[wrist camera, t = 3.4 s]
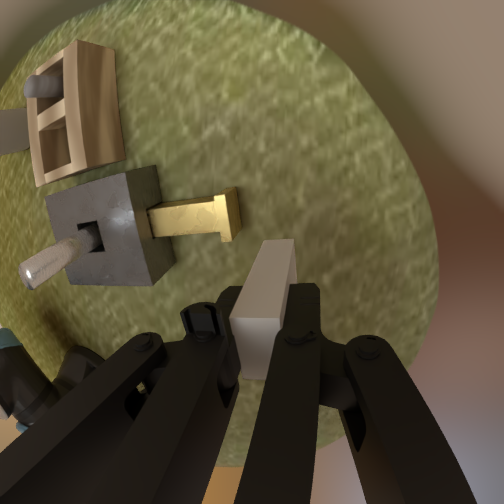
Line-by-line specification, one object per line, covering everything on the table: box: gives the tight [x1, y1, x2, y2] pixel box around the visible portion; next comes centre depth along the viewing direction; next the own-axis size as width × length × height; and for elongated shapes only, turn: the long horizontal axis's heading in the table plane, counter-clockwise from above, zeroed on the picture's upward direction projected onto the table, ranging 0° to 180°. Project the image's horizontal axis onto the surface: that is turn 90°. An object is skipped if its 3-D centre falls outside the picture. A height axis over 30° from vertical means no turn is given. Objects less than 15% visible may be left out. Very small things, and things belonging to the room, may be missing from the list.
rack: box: [24, 40, 126, 187], centre depth 23 cm, size 10×15×10 cm, turn 8°
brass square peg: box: [146, 187, 242, 242], centre depth 28 cm, size 10×4×4 cm, turn 98°
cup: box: [0, 108, 30, 156], centre depth 26 cm, size 7×10×9 cm
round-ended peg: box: [19, 222, 103, 290], centre depth 26 cm, size 3×3×16 cm
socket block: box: [45, 165, 176, 286], centre depth 30 cm, size 14×12×6 cm
